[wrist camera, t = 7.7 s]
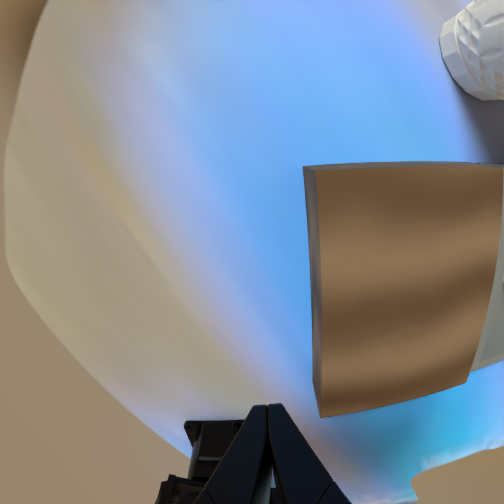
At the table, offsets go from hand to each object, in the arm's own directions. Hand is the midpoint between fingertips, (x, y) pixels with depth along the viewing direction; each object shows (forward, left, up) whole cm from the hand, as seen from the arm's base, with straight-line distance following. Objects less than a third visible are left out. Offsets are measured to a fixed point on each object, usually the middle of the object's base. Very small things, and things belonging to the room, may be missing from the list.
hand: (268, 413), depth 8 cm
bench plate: (-2, -9, -12) cm, 15 cm away
